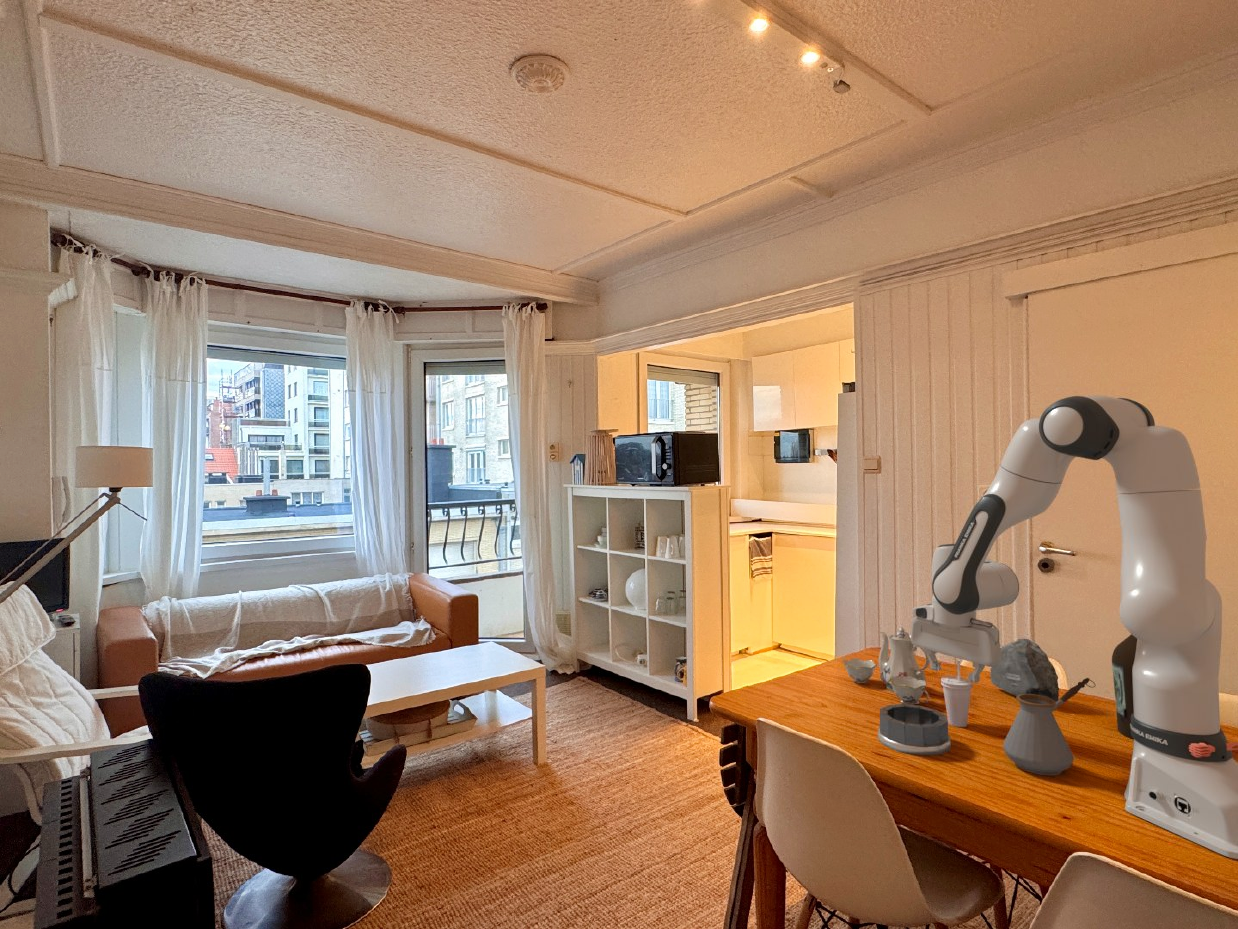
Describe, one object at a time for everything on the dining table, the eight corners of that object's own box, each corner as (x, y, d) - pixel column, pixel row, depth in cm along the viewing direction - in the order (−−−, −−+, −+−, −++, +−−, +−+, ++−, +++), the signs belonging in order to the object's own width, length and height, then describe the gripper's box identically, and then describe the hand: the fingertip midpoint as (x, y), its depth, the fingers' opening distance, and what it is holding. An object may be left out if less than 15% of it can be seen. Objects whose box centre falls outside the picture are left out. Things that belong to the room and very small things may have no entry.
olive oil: (1172, 731, 141) (1168, 614, 142) (1183, 749, 132) (1179, 624, 132) (1110, 722, 147) (1107, 610, 147) (1117, 739, 137) (1113, 619, 138)
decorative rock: (1063, 708, 156) (1061, 644, 156) (1040, 711, 154) (1038, 646, 155) (1007, 686, 172) (1005, 629, 172) (985, 689, 170) (984, 631, 170)
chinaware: (832, 686, 181) (826, 626, 180) (877, 670, 188) (871, 613, 187) (917, 719, 155) (910, 650, 155) (965, 700, 162) (958, 634, 162)
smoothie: (978, 730, 144) (976, 666, 144) (946, 728, 145) (944, 665, 145) (968, 719, 150) (966, 657, 150) (938, 717, 152) (936, 656, 152)
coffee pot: (1045, 785, 119) (1042, 701, 119) (989, 760, 129) (987, 683, 130) (1123, 764, 126) (1121, 685, 126) (1064, 742, 137) (1062, 669, 137)
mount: (965, 752, 133) (965, 725, 133) (901, 758, 131) (900, 730, 131) (924, 726, 147) (923, 701, 147) (865, 731, 145) (865, 706, 145)
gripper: (1007, 622, 141) (1008, 687, 141) (923, 604, 159) (924, 662, 159) (989, 626, 138) (990, 692, 138) (906, 607, 156) (906, 666, 156)
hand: (954, 675), depth 148 cm, fingers open, 8 cm apart
